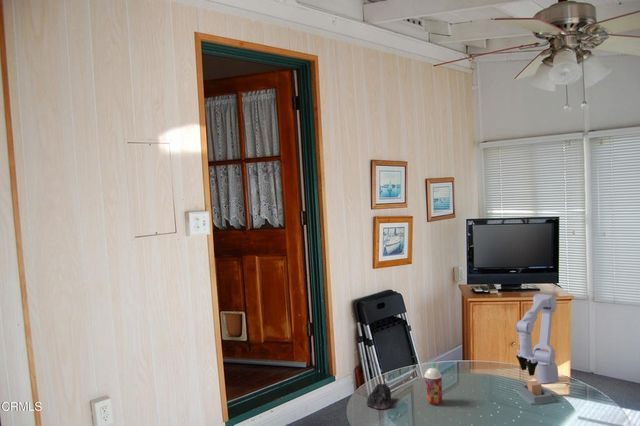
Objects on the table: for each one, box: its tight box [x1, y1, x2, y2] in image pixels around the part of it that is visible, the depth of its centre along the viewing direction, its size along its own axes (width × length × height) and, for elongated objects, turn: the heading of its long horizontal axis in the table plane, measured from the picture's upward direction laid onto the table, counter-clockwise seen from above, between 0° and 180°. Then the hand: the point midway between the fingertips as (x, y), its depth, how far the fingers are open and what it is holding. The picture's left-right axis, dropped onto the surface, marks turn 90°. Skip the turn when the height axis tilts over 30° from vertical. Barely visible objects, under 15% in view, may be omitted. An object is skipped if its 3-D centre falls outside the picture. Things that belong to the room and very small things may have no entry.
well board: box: [515, 383, 557, 406], centre depth 248 cm, size 12×15×3 cm
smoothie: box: [423, 362, 443, 406], centre depth 251 cm, size 8×8×20 cm
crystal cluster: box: [366, 383, 393, 410], centre depth 255 cm, size 13×14×10 cm
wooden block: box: [526, 380, 542, 396], centre depth 248 cm, size 4×4×6 cm
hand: (527, 372), depth 253 cm, fingers open, 7 cm apart
